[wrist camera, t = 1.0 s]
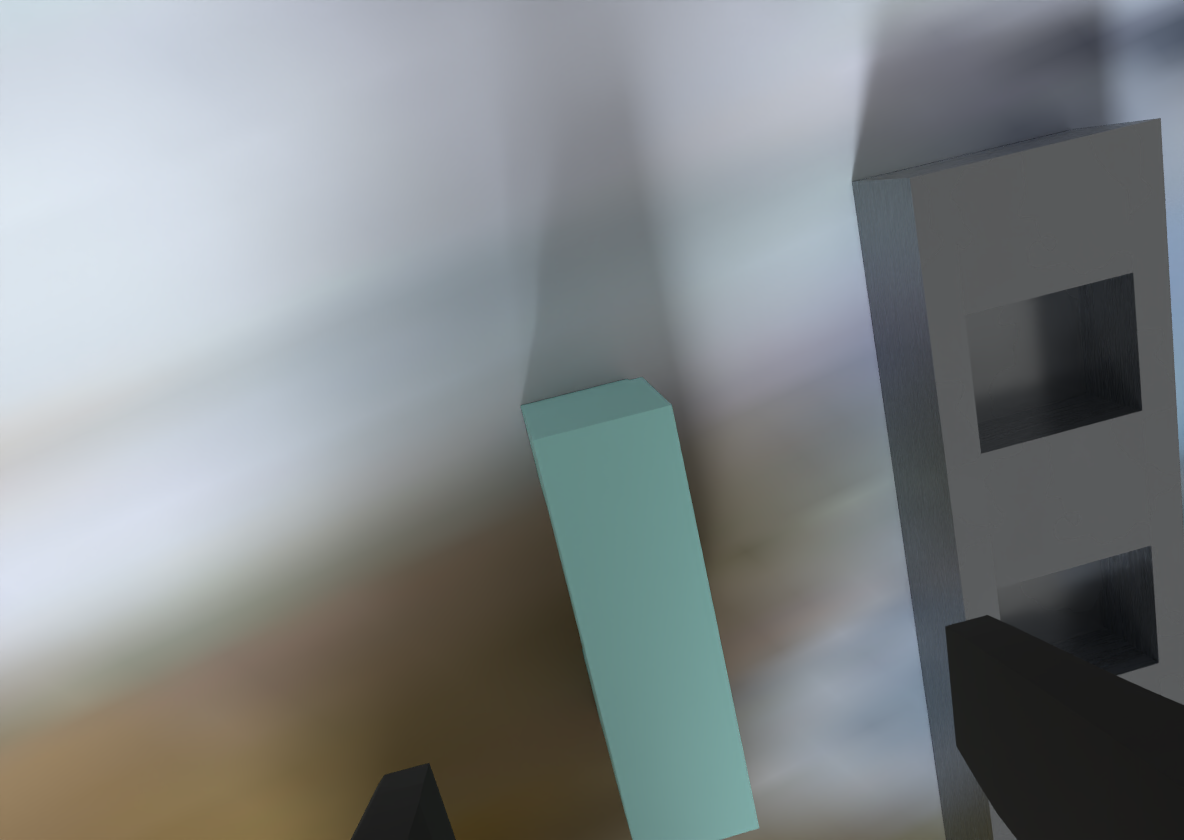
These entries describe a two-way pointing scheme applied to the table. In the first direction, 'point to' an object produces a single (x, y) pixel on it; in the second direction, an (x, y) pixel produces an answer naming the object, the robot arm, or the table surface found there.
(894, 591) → the table surface
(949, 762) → the rail
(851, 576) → the table surface
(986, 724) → the robot arm
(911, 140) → the table surface
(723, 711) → the teal rectangular block
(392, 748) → the table surface
